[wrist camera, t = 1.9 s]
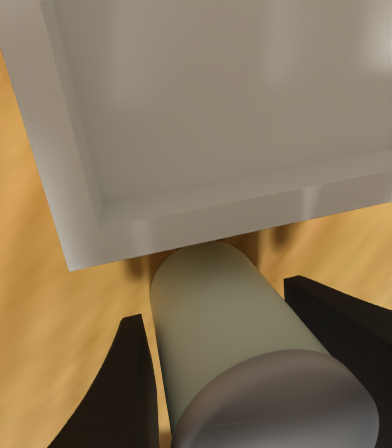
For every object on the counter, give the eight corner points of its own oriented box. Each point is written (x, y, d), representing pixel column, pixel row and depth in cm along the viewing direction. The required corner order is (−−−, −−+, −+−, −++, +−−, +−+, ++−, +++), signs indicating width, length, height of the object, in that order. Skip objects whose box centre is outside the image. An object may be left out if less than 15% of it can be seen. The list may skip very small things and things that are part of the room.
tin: (254, 227, 13) (384, 344, 7) (262, 324, 15) (373, 494, 8) (136, 252, 12) (155, 409, 6) (158, 351, 14) (191, 559, 8)
